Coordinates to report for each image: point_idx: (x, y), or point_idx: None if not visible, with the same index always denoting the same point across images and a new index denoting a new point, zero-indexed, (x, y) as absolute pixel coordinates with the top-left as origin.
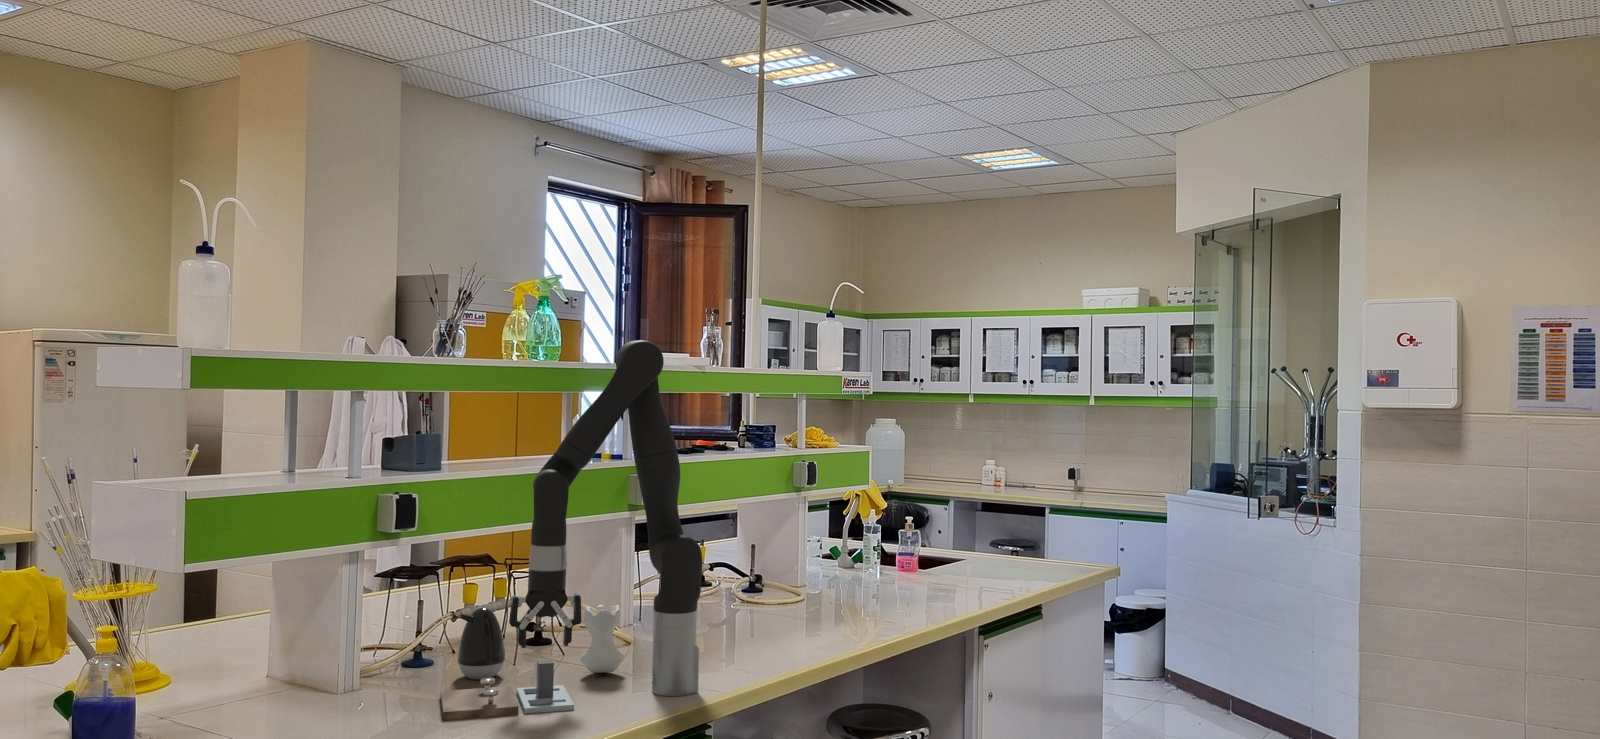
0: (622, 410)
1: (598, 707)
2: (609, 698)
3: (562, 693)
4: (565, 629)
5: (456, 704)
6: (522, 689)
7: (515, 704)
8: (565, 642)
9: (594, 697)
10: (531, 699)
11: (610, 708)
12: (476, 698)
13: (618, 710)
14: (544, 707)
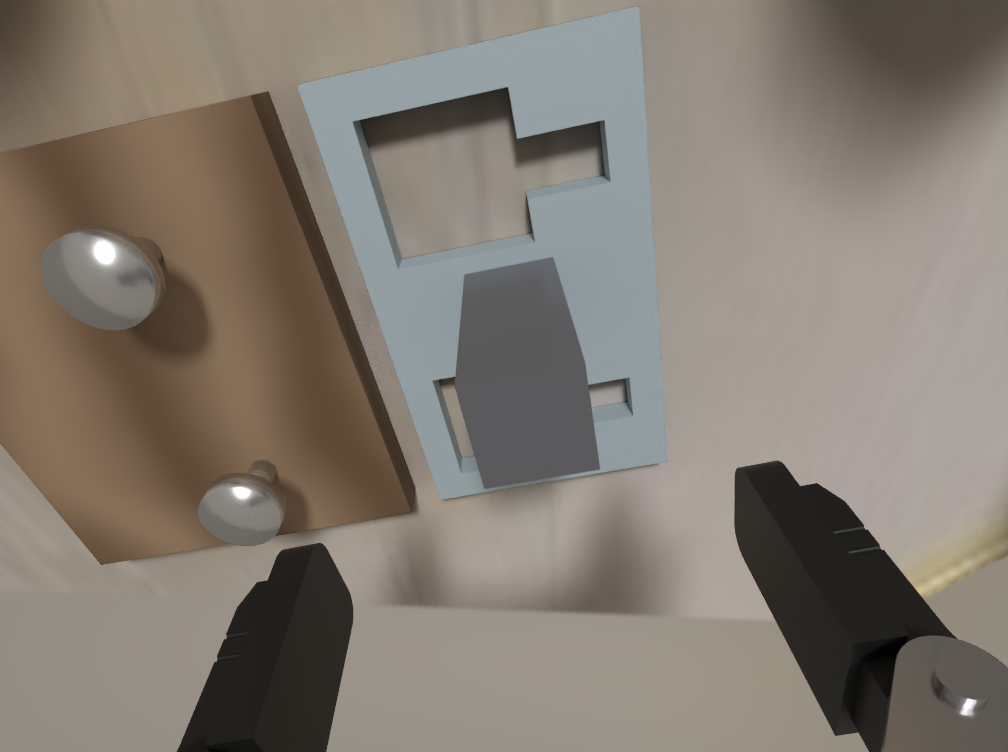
0: None
1: (778, 419)
2: (880, 268)
3: (622, 261)
4: (827, 718)
5: (94, 472)
6: (350, 131)
7: (390, 488)
8: (757, 573)
9: (803, 240)
10: (450, 369)
11: (828, 436)
12: (145, 383)
13: (853, 464)
14: (528, 484)
